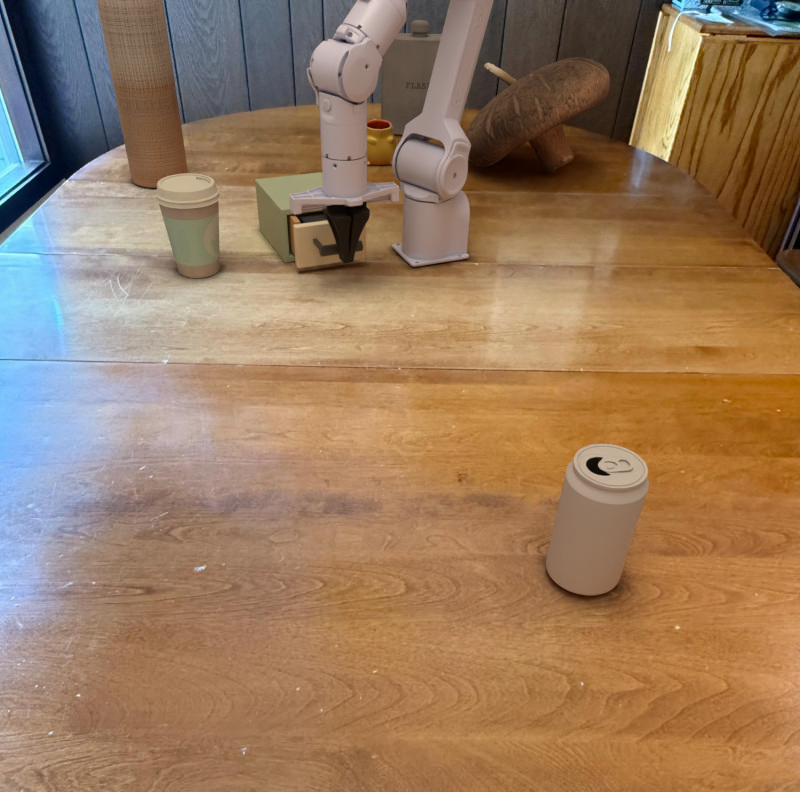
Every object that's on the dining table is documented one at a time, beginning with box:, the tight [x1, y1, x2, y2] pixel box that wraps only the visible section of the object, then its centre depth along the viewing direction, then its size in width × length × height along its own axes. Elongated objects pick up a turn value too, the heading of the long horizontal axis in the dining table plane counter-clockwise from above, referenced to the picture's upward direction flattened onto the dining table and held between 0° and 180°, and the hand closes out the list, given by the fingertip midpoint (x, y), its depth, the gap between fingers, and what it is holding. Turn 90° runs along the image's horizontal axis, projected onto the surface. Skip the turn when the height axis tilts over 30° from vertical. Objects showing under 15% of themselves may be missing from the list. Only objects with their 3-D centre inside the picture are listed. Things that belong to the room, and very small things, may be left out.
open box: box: [298, 214, 327, 224], centre depth 114 cm, size 5×6×3 cm
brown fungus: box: [465, 56, 611, 174], centre depth 143 cm, size 28×23×25 cm
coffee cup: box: [155, 172, 222, 279], centre depth 107 cm, size 8×8×12 cm
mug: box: [367, 118, 397, 166], centre depth 149 cm, size 12×7×7 cm, turn 3°
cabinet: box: [254, 171, 323, 263], centre depth 117 cm, size 14×12×8 cm
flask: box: [380, 19, 442, 137], centre depth 158 cm, size 15×6×20 cm, turn 92°
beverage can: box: [545, 443, 650, 596], centre depth 63 cm, size 6×6×12 cm
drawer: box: [287, 211, 367, 269], centre depth 112 cm, size 17×10×6 cm, turn 23°
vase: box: [96, 0, 189, 189], centre depth 129 cm, size 10×10×28 cm
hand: (346, 260), depth 106 cm, fingers closed, pressing on drawer
